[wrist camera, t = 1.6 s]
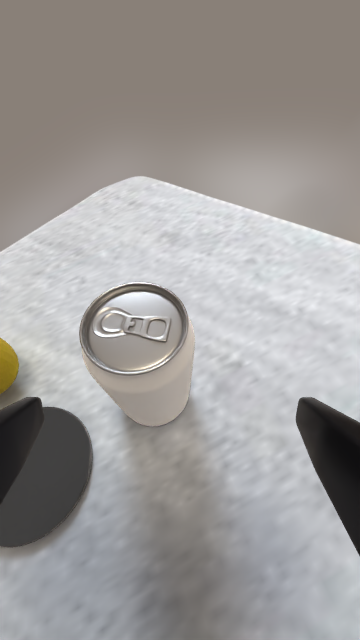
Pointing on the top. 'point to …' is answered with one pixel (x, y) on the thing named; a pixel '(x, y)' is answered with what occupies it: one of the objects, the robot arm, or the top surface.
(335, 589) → the top surface
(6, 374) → the lemon
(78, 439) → the coaster
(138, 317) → the can
